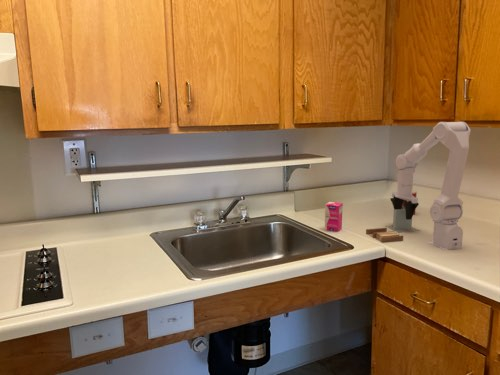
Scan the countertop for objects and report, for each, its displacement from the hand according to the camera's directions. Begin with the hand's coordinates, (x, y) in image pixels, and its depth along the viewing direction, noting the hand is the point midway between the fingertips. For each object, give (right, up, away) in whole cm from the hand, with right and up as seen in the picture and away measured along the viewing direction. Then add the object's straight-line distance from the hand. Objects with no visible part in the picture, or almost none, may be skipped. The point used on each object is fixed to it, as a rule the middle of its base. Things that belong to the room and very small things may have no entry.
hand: (403, 217), depth 165 cm
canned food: (+13, -1, +29) cm, 32 cm away
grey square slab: (0, -5, +1) cm, 5 cm away
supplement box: (-29, -6, 0) cm, 29 cm away
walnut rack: (-12, -7, -11) cm, 17 cm away
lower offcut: (-11, -7, -13) cm, 19 cm away
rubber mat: (0, -5, +1) cm, 5 cm away
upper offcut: (-11, -6, -14) cm, 19 cm away
